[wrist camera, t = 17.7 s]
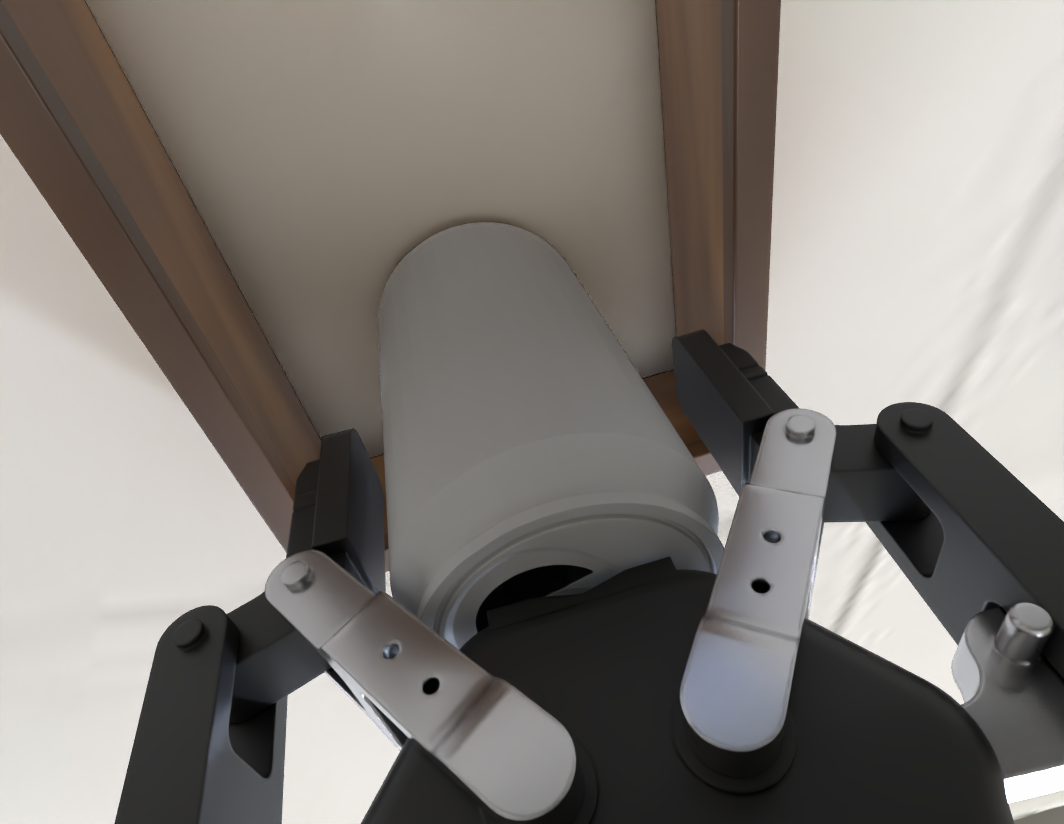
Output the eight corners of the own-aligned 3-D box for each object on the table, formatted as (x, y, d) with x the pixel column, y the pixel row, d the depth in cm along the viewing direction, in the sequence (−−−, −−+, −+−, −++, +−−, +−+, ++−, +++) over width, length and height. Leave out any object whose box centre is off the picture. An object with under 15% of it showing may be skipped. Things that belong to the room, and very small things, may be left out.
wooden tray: (321, 491, 23) (314, 594, 20) (-169, -362, 11) (-453, -525, 7) (701, 380, 24) (762, 459, 20) (668, -544, 11) (816, -778, 8)
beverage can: (416, 179, 18) (478, 450, 8) (609, 254, 20) (824, 526, 11) (351, 366, 21) (343, 722, 11) (527, 411, 23) (640, 730, 14)
